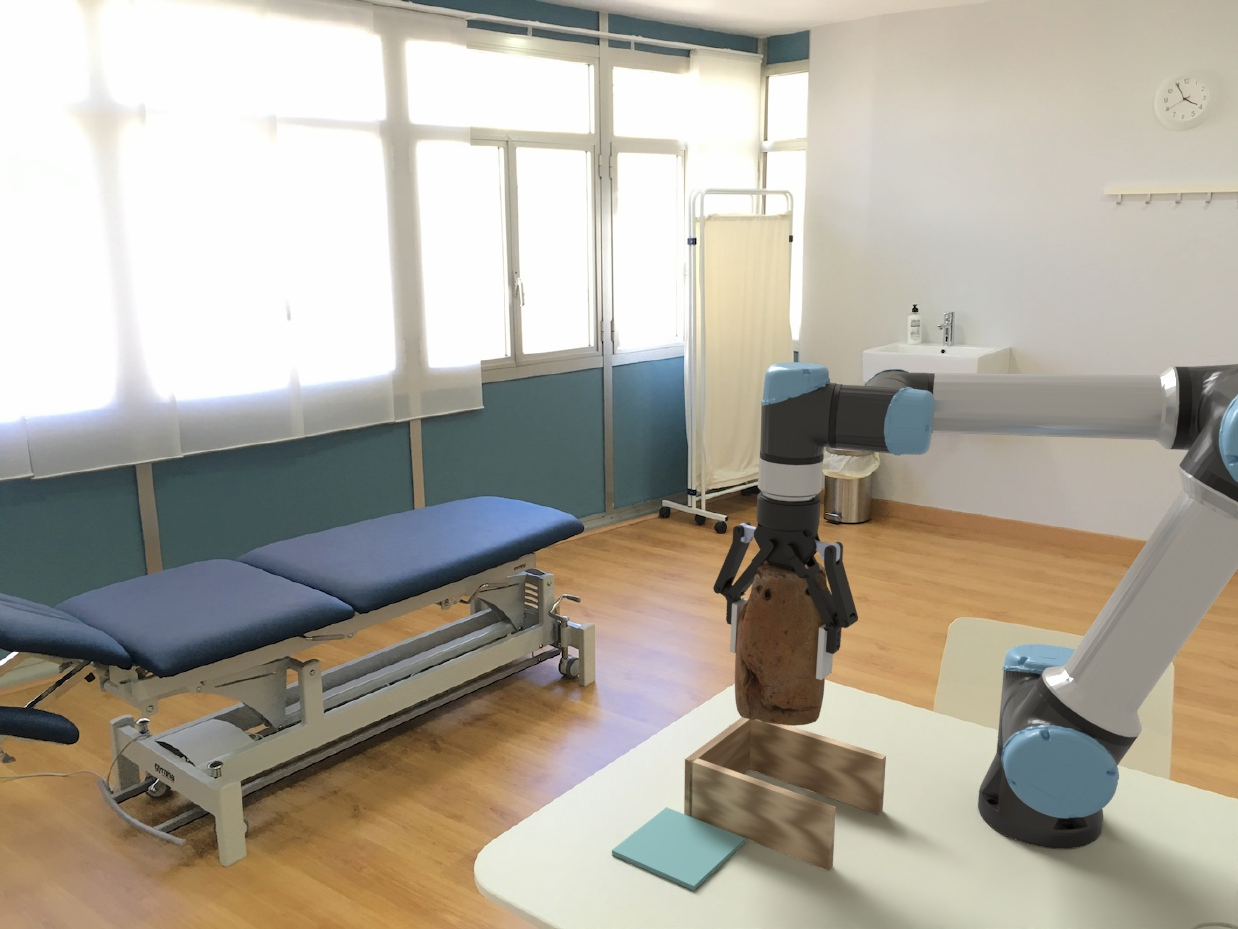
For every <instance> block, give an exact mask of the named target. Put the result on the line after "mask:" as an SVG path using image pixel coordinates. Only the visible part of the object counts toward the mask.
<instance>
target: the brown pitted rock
mask: <svg viewBox="0 0 1238 929" xmlns="http://www.w3.org/2000/svg"><path fill="white" fill-rule="evenodd" d="M817 563H818V565H819V567H820V569H819V571H820V573H821V575H819V574H816V575H815V578H816V582H817V584H818V585H819V586H820V587H821V588H822V589H823V590H826V588H827V587H828V579H827V576H826V572H825V568H824V565H822V564H821V563H820V562H819V561H817ZM805 567H806V568H808V567H807V565H805ZM750 588H751V589H750V593H749V597H748V598H747V599H748V601H747V603H746V604H745V605H744V607H743V609H742V611H741V613H740V616H739V622H738V629H737V641H736V653H735V662H734V697H735V700H734V701H735V706H736V710H737V712H738V714H739V716H740V718H741V717H743V718H747V719H751V720H755V719H756V720H760V721H762V722H765V723H772V724H783V725H789V726H792V727H795V726H804V725H809V724H813V723H815V722H817V721H818V720H819V718H820V715H821V710H822V706H823V700H824V693H825V682H826V680H825V678H826V677H825V678H824V679H822V680H820V679H816V668H817V653H818V638H819V627H821V626H823V625H824V624H825V623H824V621H823V619H822V617H821V615H820V613H819V612H818V610H817V608H816V606H815V604H814V602H813V600H812V598H811V596H810V594H809V592H808V590H807V588H809V586H808V583H807V581H806V579H805V578H799V577H798V576H797V574H796V572H795V570H794V571H789V570H786V569H784V568H782V567H776V566H772V565H770V564H769V563H768V562H767V561H765V562H764V563H763V564H762V565H760V566H759V567H758V569H757V574H756V575H755V577H754V580H753V583H752V585H751V587H750Z"/></svg>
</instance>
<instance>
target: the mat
mask: <svg viewBox="0 0 1238 929" xmlns="http://www.w3.org/2000/svg"><path fill="white" fill-rule="evenodd" d="M745 844H746V838H743V837H741V836H738V835H736V834H733V833H731V832H728V831H726V830H723V829H720V828H718V827H715V826H713V825H710V824H708V823H705V822H703V821H700V820H698V819H695V818H692V817H690V816H687V815H685V814H684V813H682V812H680V811H677V810H675V809H671V808H669V807H665V808H664V809H663V810H661V811H660V812H658V813H657V814H656V815H655V816H654V817H652V818H651V819H649V820H648V821H647V822H646V823H645V824H643V825H642V826H641V827H639V828H638V829H637V830H635V831H634V832H633V833H632V834H630V835H629V836H628V837H627V838H625V839H624V840H623V841H622V842H620V843H619V844H617V846H615V847H613V849H612V850H611V855H613V856H615V857H617V858H619V859H621V860H624V861H626V862H628V863H631V864H632V865H635V866H637V867H640V868H642V869H644V870H647V871H649V872H651V873H653V874H655V875H657V876H660V877H662V878H664V879H667V880H669V881H672V882H674V883H676V884H678V885H680V886H683V887H685V888H687V889H689V890H692V891H695V890H696V889H697V888H699V886H700V885H702V884H703V883H704V882H705V881H706V880H707V879H708V878H710V876H712V875H713V873H714V872H716V870H718V869H719V868H720V867H721V866H722V865H723V864H724V863H725V862H726V861H727V860H728V859H730V857H731V856H732V855H734V853H736V852H737V851H738V850H739V849H740V848H742V846H744V845H745Z"/></svg>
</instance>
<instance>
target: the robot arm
mask: <svg viewBox="0 0 1238 929" xmlns="http://www.w3.org/2000/svg"><path fill="white" fill-rule="evenodd" d="M829 372H830V371H829V369H828V367H826V366H824V365H822V364H818V363H811V362H810V363H809V362H800V361H798V362H797V361H796V362H795V361H794V362H792V361H791V362H789V361H788V362H777V363H774V364H772V365H771V366H768V368H767V369H766V371H765V374H764V382H763V389H762V390H763V392H762V400H761V402H760V406H761V411H760V412H761V415H760V417H761V418H760V419H761V420H760V445H759V446H760V447H759V449H760V450H759V464H758V474H757V475H758V478H757V479H758V480H757V488H758V489H759V490H760V492H759V493H758V494H757V502H756V521H757V524H756V526H752V524H751V523H750V522H749V521H744V522H742V523H739V524H738V525H735V526H734V527H733V529H732V542H731V545H730V547H729V550H728V552H727V554H726V556H725V559H724V562H723V563H722V566H721V568H720V571H719V573H718V575H717V577H716V580H715V583H714V585H713V587H712V589H713V592H714V593H715V594H720V595H722V596H723V597H724V598H725V600H726V613H725V614H726V617H725V621H726V624H728V625H730V640H729V642H730V645H729V653H733V654H736V641H737V629H738V622H739V616H740V613H741V611H742V609H743V607H744V605H745V604H746V603H747V601H748V599H749V598H746V597H743V596H745V595H746V593H747V591H748V590H749V588H751V587H752V584H753V580H754V577H755V575H756V574H757V569H758V567H759V566H760V565H762V564H763V563H764V562H765V561H767V562H768V563H769V564H770V565H772V566H776V567H782V568H784V569H786V570H789V571H794V570H795V572H796V574H797V576H798V577H799V578H805V579H806V581H807V583H808V586H809V588H807V590H808V592H809V594H810V596H811V598H812V600H813V602H814V604H815V606H816V608H817V610H818V612H819V613H820V615H821V617H822V619H823V621H824V623H825V624H824V625H823V626H821V627H819V638H818V653H817V668H816V679H820V680H822V679H824V678H827V676H829V675H831V674H832V673H833V662H834V661H833V660H834V659H833V658H834V655H835V653H837V652H839V651H840V648H841V642H842V640H841V639H842V628H843V629H848V628H849V627H850V626H852V625H854V624H855V623H856V622H858V621H859V614H858V611H857V608H856V605H855V601H854V597H853V594H852V591H851V586H850V584H849V579H848V576H847V572H846V570H845V565H844V562H843V560H844V558H843V557H844V555H843V554H844V545H843V543H842V542H841V541H836V542H833V543H830V542H827V541H821V539H820V536H819V526H820V520H821V506H822V505H821V503H822V499H821V497H820V496H819V494H820V493H821V491H822V484H823V468H824V455H825V454H824V452H825V448H830V449H835V450H836V449H838V450H839V449H840V450H841V449H842V450H851V451H858V452H859V451H861V452H862V451H863V452H870V453H871V452H873V453H883V454H892V455H894V456H902V455H909V456H910V455H915V456H917V455H919V456H920V455H925V454H926V453H927V452H928V451H929V450H930V447H931V440H932V434H954V435H955V434H959V435H961V434H962V435H987V436H988V435H990V436H991V435H992V436H1014V437H1015V436H1016V437H1017V436H1019V437H1020V436H1021V437H1022V436H1023V437H1045V438H1046V437H1049V438H1051V437H1052V438H1079V439H1080V438H1081V439H1082V438H1083V439H1085V438H1086V439H1106V440H1107V439H1108V440H1109V439H1110V440H1111V439H1112V440H1113V439H1114V440H1140V441H1141V440H1145V441H1156V442H1157V443H1159V444H1160V445H1161V446H1162V447H1163V448H1164V449H1165V450H1176V451H1177V450H1179V451H1180V450H1181V451H1187V452H1186V454H1185V455H1184V457H1183V458H1182V460H1181V461H1180V463H1179V464H1178V467H1177V469H1178V473H1179V476H1180V479H1181V483H1182V484H1181V490H1180V491H1179V493H1178V495H1177V496H1176V498H1174V501H1173V502H1172V503H1171V505H1170V507H1169V508H1168V510H1167V511H1166V513H1165V514H1164V516H1163V517H1162V518H1161V520H1160V522H1159V523H1158V524H1157V526H1156V527H1155V529H1154V530H1153V532H1152V534H1151V535H1150V537H1148V539H1147V541H1146V543H1145V544H1144V545H1143V547H1142V549H1141V550H1140V551H1139V553H1138V555H1136V558H1135V559H1134V561H1133V562H1132V563H1131V565H1130V567H1129V568H1128V569H1127V571H1126V573H1125V575H1124V576H1123V577H1122V579H1121V580H1120V582H1119V583H1118V585H1117V586H1116V588H1115V589H1114V591H1112V594H1111V596H1110V597H1109V598H1108V600H1107V602H1106V603H1105V605H1104V606H1103V607H1102V609H1101V610H1100V612H1099V613H1098V615H1096V618H1095V619H1094V621H1093V622H1092V624H1091V625H1090V626H1089V628H1088V629H1087V631H1086V632H1085V635H1084V636H1083V637H1082V639H1081V640H1080V642H1079V644H1078V645H1077V646H1076V648H1075V649H1074V648H1070V647H1065V646H1061V645H1053V644H1040V643H1036V644H1035V643H1031V644H1030V643H1028V644H1027V643H1025V644H1020V645H1016V646H1015V645H1014V646H1013V647H1011V648H1010V649H1008V650H1007V651H1006V653H1005V657H1004V662H1003V663H1004V664H1003V665H1002V667H1001V670H1002V671H1003V673H1002V687H1001V697H1000V709H999V719H998V730H997V731H998V732H997V743H996V744H997V746H996V753H995V754H994V757H993V759H992V761H991V763H990V766H989V767H988V770H987V772H986V773H985V776H984V777H983V780H982V782H981V784H980V786H979V791H978V797H977V798H978V799H977V800H978V801H977V808H978V809H977V810H978V812H979V814H980V815H981V818H982V819H983V820H984V821H985V822H986V824H988V825H989V826H990V827H992V828H993V829H994V830H996V831H997V832H1000V833H1001V834H1003V835H1004V836H1006V837H1008V838H1010V839H1013V840H1015V841H1017V842H1021V843H1023V844H1026V845H1029V846H1030V845H1031V846H1036V847H1041V848H1046V849H1056V850H1068V849H1069V850H1070V849H1076V848H1077V849H1078V848H1082V847H1086V846H1088V845H1091V844H1093V843H1094V842H1095V841H1097V840H1098V838H1100V836H1101V834H1102V830H1103V821H1104V810H1103V809H1104V808H1105V807H1106V806H1107V805H1108V804H1109V803H1110V802H1111V801H1112V799H1113V797H1114V796H1115V794H1116V791H1117V787H1118V785H1119V780H1120V771H1119V767H1118V766H1119V764H1120V762H1121V761H1122V760H1123V758H1124V757H1125V756H1126V754H1127V753H1128V752H1129V750H1130V748H1131V747H1132V746H1133V745H1134V742H1135V741H1136V740H1137V739H1138V737H1139V736H1140V734H1141V733H1142V730H1143V727H1142V723H1141V721H1140V717H1139V714H1138V710H1139V709H1140V708H1141V706H1142V704H1143V703H1144V702H1145V700H1146V699H1147V698H1148V696H1149V695H1150V693H1151V692H1152V690H1153V689H1154V688H1155V686H1156V685H1157V683H1158V682H1159V681H1160V679H1161V678H1162V677H1163V675H1164V673H1165V672H1166V670H1167V669H1168V668H1169V667H1170V665H1171V663H1172V662H1173V661H1174V659H1175V658H1176V656H1177V655H1178V654H1179V652H1180V651H1181V650H1182V648H1183V646H1185V644H1186V642H1187V641H1188V639H1189V638H1190V637H1191V635H1192V634H1193V633H1194V631H1195V630H1196V628H1197V627H1198V625H1199V624H1200V622H1202V620H1203V618H1204V617H1205V615H1206V614H1207V612H1208V611H1209V610H1210V609H1211V607H1212V606H1213V604H1215V602H1216V600H1217V598H1218V597H1219V596H1220V595H1221V593H1222V591H1223V590H1224V589H1225V587H1226V585H1228V583H1229V581H1230V580H1231V579H1232V577H1233V576H1234V574H1235V573H1236V572H1237V570H1238V363H1234V364H1233V363H1232V364H1219V365H1218V364H1217V365H1201V366H1200V365H1199V366H1194V365H1193V366H1169V367H1167V369H1165V370H1164V371H1163V372H1162V373H1160V374H1157V375H1156V374H1155V375H1154V374H1150V375H1149V374H1080V373H1079V374H1077V373H1075V374H1073V373H1072V374H1071V373H1066V374H1065V373H1064V374H1063V373H997V372H996V373H994V372H992V373H991V372H989V373H986V372H984V373H981V372H980V373H979V372H978V373H977V372H974V373H973V372H909V371H908V370H905V369H901V368H889V369H883V370H882V371H879V372H876V373H875V374H874V375H872V376H871V377H870V378H869V379H868V380H867V382H865V383H864V385H859V384H858V385H855V384H841V383H835V382H831V378H830V374H829ZM753 540H754V541H755V542H756V545H757V546H758V548H759V551H758V552H757V553H756V554H755V556H754V557H753V558H752V560H751V562H750V564H749V565H748V566H747V568H745V569H744V571H743V572H742V573H741V575H739V577H738V579H737V580H736V581H735V579H736V576H737V573H738V572H739V569H740V568H741V565H742V562H743V560H744V558H745V556H746V554H747V551H748V549H749V546H750V544H751V542H752V541H753ZM816 553H819V555H820V560H821V561H823V567H824V569H825V573H826V580H827V584H828V586H829V587H828V586H827V588H826V590H823V589H822V588H821V587H820V586H819V585H818V584H817V582H816V578H815V575H816V574H819V575H821V573H820V571H819V569H820V567H819V565H818V563H817V562H818V560H817V559H816V557H815V555H816ZM805 565H807V567H808V568H806V567H805ZM734 581H735V582H734Z"/></svg>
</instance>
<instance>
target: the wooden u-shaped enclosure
mask: <svg viewBox="0 0 1238 929" xmlns="http://www.w3.org/2000/svg"><path fill="white" fill-rule="evenodd" d="M886 762H887V755H886V754H882V753H878V752H876V751H872V750H870V749H866V748H863V747H859V746H857V745H853V744H850V743H848V742H843V741H840V740H836V739H834V738H831V737H827V736H825V735H824V736H823V735H821V734H817V733H814V732H812V731H808V730H806V729H802V728H799V727H795V726H791V725H783V724H772V723H765V722H762V721H760V720H756V719H755V720H751V719H747V718H743V717H741V716H740V718H739V719H737V720H736V721H734V723H732V724H730V725H729V726H728V727H727V728H725V729H724V730H723V731H721V732H720V733H718V734H717V735H716V736H714V737H713V738H711V739H710V740H709V741H707V742H706V743H705V744H704V745H702V746H700V748H698V749H697V750H695V751H694V752H693V753H692V754H690V755H689V756H687V757H686V758H684V796H683V797H684V798H683V799H684V804H683V805H684V806H683V809H684V810H683V814H685V815H687V816H690V817H692V818H695V819H698V820H700V821H703V822H705V823H708V824H710V825H713V826H715V827H718V828H720V829H723V830H726V831H728V832H731V833H733V834H736V835H738V836H741V837H743V838H745V840H748V841H751V842H754V843H756V844H759V845H761V846H764V847H766V848H769V849H771V850H773V851H776V852H780V853H781V854H784V855H787V856H789V857H791V858H794V859H797V860H798V861H799V860H800V861H803V862H805V863H807V864H810V865H812V866H814V867H817V868H820V869H823V870H824V871H826V872H827V871H828V872H829V871H830V870H831V869H832V868H833V867H834V853H835V852H834V850H835V830H836V829H835V828H836V811H837V808H836V806H835V805H832V804H829V803H827V802H823V801H821V800H817V799H815V798H812V797H809V796H807V795H806V796H805V795H803V794H800V793H798V792H795V791H791V790H790V789H786V788H783V787H781V786H777V785H774V784H772V783H770V782H766V781H764V780H761V779H757V778H755V777H752V776H750V775H747V774H746V773H747V772H749V771H753V772H755V773H757V774H761V775H764V776H767V777H769V778H773V779H776V780H778V781H781V782H784V783H787V784H790V785H792V786H796V787H798V788H801V789H803V790H808V791H810V792H813V793H816V794H818V795H821V796H824V797H827V798H830V799H833V800H835V801H840V802H842V803H844V804H848V805H850V806H853V807H856V808H859V809H862V810H865V811H867V812H870V813H873V814H877V815H881V813H882V812H883V811H884V793H885V781H886V780H885V779H886Z"/></svg>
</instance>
